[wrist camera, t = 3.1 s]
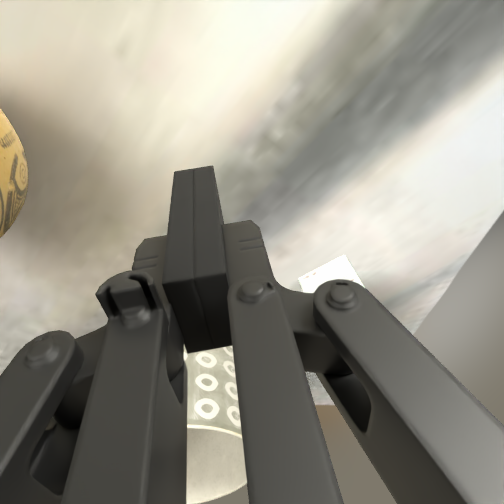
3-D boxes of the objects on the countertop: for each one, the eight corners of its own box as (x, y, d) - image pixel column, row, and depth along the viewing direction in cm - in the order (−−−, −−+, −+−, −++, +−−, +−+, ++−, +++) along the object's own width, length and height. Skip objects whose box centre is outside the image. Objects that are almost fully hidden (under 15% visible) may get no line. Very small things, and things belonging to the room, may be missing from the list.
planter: (183, 271, 44) (174, 403, 29) (269, 340, 54) (294, 464, 39) (87, 341, 49) (39, 483, 34) (181, 392, 59) (174, 519, 44)
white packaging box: (363, 285, 49) (405, 358, 39) (317, 308, 51) (346, 383, 40) (345, 251, 45) (387, 322, 35) (296, 277, 47) (322, 352, 36)
